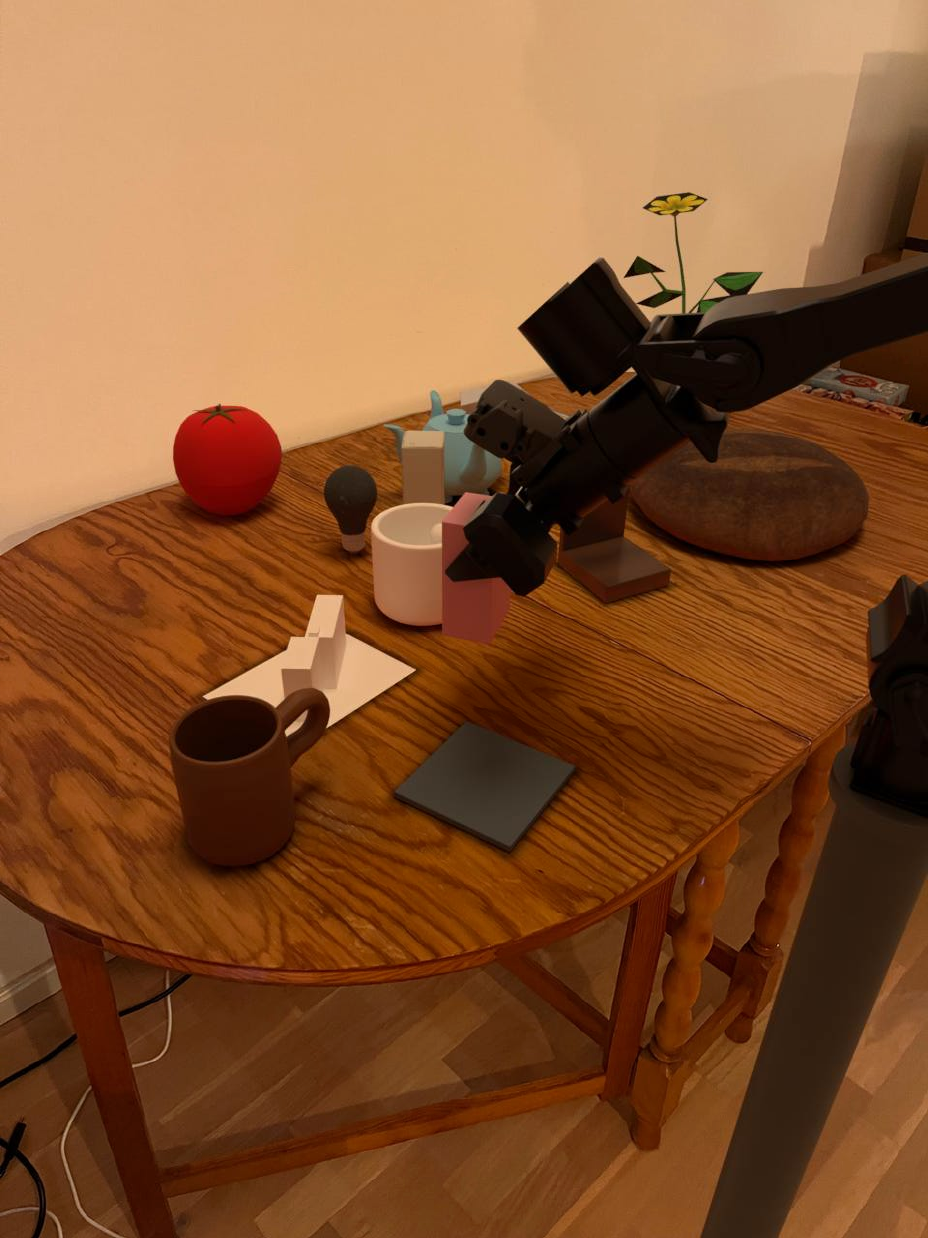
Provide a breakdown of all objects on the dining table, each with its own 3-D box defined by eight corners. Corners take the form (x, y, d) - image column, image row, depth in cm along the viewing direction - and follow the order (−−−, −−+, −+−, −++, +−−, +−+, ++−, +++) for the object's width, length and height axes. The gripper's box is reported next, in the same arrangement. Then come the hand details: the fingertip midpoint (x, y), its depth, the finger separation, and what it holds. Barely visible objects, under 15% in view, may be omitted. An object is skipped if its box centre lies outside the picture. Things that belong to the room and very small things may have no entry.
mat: (575, 771, 71) (575, 765, 70) (509, 853, 64) (510, 847, 63) (466, 726, 75) (466, 720, 75) (394, 797, 68) (393, 791, 68)
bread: (900, 570, 98) (923, 495, 94) (647, 568, 98) (658, 493, 93) (813, 465, 122) (828, 401, 118) (610, 463, 122) (616, 399, 117)
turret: (569, 462, 127) (577, 431, 125) (442, 418, 133) (447, 387, 130) (592, 439, 135) (600, 409, 132) (472, 398, 140) (477, 368, 138)
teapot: (522, 479, 117) (526, 403, 112) (481, 521, 107) (483, 439, 102) (431, 462, 122) (431, 387, 116) (384, 500, 111) (381, 420, 106)
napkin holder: (329, 624, 88) (324, 572, 85) (417, 669, 82) (416, 615, 79) (201, 697, 78) (191, 641, 75) (290, 753, 72) (283, 696, 69)
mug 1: (303, 752, 72) (293, 654, 67) (366, 800, 68) (359, 699, 63) (167, 830, 65) (144, 727, 60) (227, 890, 60) (207, 784, 55)
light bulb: (324, 543, 102) (317, 459, 96) (373, 537, 103) (369, 454, 98) (333, 567, 97) (327, 480, 92) (385, 560, 99) (381, 474, 93)
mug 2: (513, 613, 90) (517, 531, 85) (436, 654, 84) (436, 568, 79) (431, 569, 97) (430, 491, 92) (354, 604, 91) (349, 522, 86)
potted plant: (591, 402, 142) (610, 191, 126) (705, 396, 145) (737, 189, 129) (629, 445, 128) (656, 212, 111) (754, 437, 131) (798, 209, 114)
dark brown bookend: (669, 585, 95) (685, 478, 88) (605, 603, 92) (617, 494, 85) (617, 548, 102) (629, 447, 95) (557, 564, 98) (565, 460, 92)
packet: (510, 609, 76) (514, 499, 70) (490, 644, 71) (493, 529, 66) (464, 601, 77) (465, 491, 71) (441, 635, 72) (441, 521, 67)
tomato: (178, 532, 104) (160, 426, 97) (184, 490, 113) (168, 390, 107) (288, 524, 106) (278, 419, 99) (285, 483, 115) (275, 385, 109)
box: (443, 560, 99) (443, 448, 92) (403, 559, 99) (400, 447, 92) (445, 537, 103) (445, 429, 96) (406, 537, 103) (404, 428, 96)
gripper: (571, 317, 68) (434, 438, 77) (498, 394, 53) (338, 533, 62) (663, 430, 70) (519, 536, 79) (618, 535, 55) (447, 651, 64)
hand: (461, 558), depth 71 cm, fingers closed on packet, 5 cm apart
